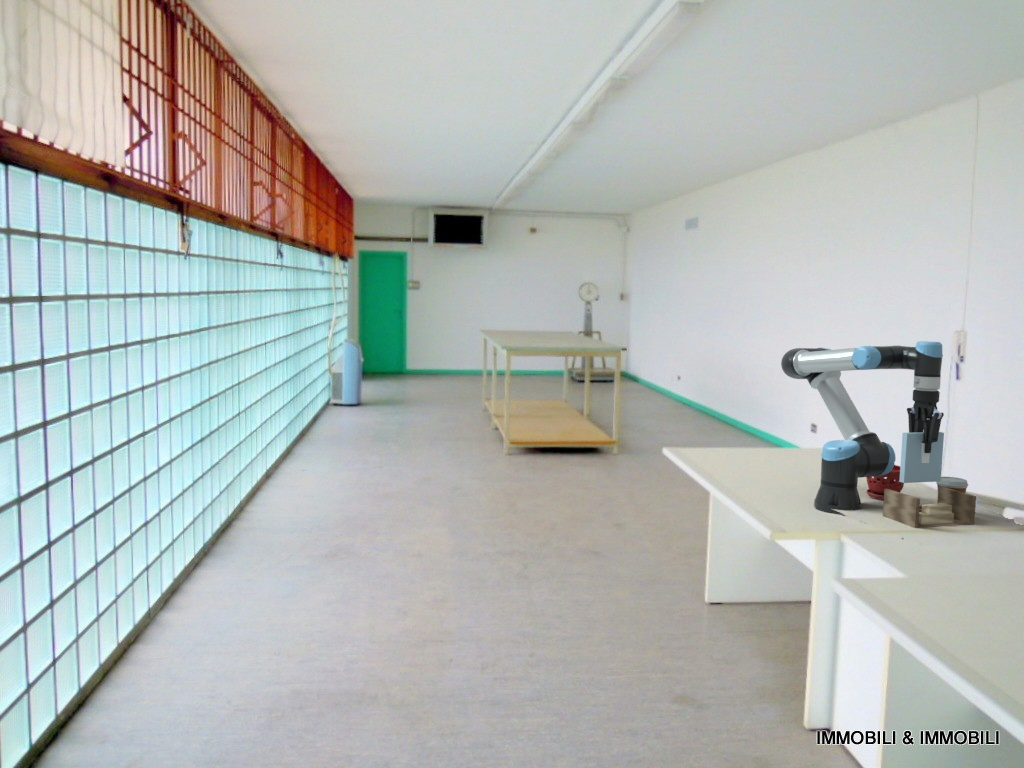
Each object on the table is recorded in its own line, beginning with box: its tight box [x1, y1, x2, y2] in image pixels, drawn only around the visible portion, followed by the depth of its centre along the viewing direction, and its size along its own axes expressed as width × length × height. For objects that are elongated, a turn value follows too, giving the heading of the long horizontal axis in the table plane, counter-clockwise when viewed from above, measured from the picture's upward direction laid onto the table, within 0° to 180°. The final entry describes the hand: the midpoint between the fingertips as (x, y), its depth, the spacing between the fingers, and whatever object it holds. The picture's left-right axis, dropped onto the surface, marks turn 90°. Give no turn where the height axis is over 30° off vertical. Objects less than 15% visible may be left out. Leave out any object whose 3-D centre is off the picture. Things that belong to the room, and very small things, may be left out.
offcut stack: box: [918, 503, 954, 524], centre depth 239 cm, size 4×12×6 cm, turn 103°
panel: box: [899, 431, 945, 484], centre depth 244 cm, size 2×14×16 cm, turn 103°
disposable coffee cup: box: [935, 476, 969, 493], centre depth 255 cm, size 10×10×12 cm
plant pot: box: [865, 464, 905, 500], centre depth 277 cm, size 13×13×12 cm
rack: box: [882, 486, 977, 529], centre depth 242 cm, size 14×22×10 cm, turn 103°
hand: (921, 461), depth 244 cm, fingers closed on panel, 2 cm apart
